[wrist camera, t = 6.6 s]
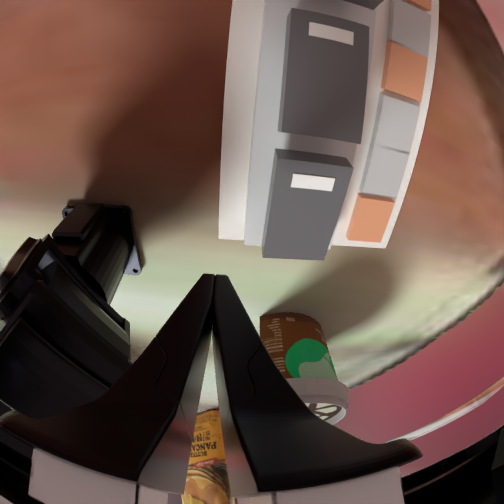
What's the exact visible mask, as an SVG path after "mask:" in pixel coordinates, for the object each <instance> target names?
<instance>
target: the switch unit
mask: <svg viewBox="0 0 504 504" xmlns="http://www.w3.org/2000/svg"><path fill="white" fill-rule="evenodd" d="M291 8H296V9H302V10H308V11H313V12H318V13H322V14H327V15H331V16H335V17H339V18H343V19H346V20H350V21H353V22H357V23H360V24H363V25H366V26H369V59H368V78H367V91H366V103H365V113H364V122H363V131H362V139H361V144H356V143H351V142H346V141H340V140H334V139H328V138H322V137H315V136H308V135H300V134H292V133H283V132H278V121H279V110H280V98H281V87H282V75H283V63H284V50H285V37H286V24H287V16H288V14H289V12H290V10H291ZM438 22H439V0H384V1H383V2H382V3H381V4H379V5H378V6H377V7H376V8H375V9H374V10H371V9H368V8H365V7H362V6H359V5H356V4H353V3H350V2H346V1H343V0H233V2H232V11H231V21H230V31H229V42H228V53H227V66H226V79H225V93H224V109H223V126H222V146H221V170H220V200H219V239H231V240H244V245H252V246H262V238H263V231H264V224H265V217H266V210H267V203H268V195H269V188H270V181H271V174H272V167H273V159H274V152H275V148H276V149H286V150H295V151H304V152H312V153H319V154H326V155H333V156H339V157H346V158H347V160H348V161H349V162H350V164H351V165H352V166H353V168H354V169H353V173H352V176H351V179H350V183H349V186H348V189H347V193H346V196H345V199H344V202H343V205H342V208H341V212H340V215H339V218H338V221H337V224H336V227H335V230H334V233H333V235H332V238H331V241H330V244H329V247H328V249H329V250H330V248H331V245H341V246H357V247H372V248H386V246H387V243H388V241H389V238H390V235H391V233H392V230H393V228H394V225H395V222H396V220H397V217H398V214H399V211H400V208H401V205H402V203H403V200H404V197H405V194H406V190H407V187H408V184H409V181H410V178H411V174H412V171H413V168H414V164H415V160H416V157H417V153H418V149H419V145H420V141H421V137H422V133H423V129H424V125H425V120H426V115H427V110H428V105H429V100H430V94H431V89H432V82H433V76H434V68H435V60H436V51H437V39H438Z"/></svg>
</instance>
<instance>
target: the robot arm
mask: <svg viewBox="0 0 504 504" xmlns="http://www.w3.org/2000/svg"><path fill="white" fill-rule="evenodd" d="M123 211H125V212H126V213H127V214H124V213H123ZM67 212H68V213H69V214H68V213H67ZM62 215H63V221H62V222H61V223H60V224H59V225H58V226H57V227H56V228H55V230H54V231H53V233H52V237H53V239H52V237H51V236H50V235H49V234H48V235H46V236H45V237H44V238H43V239H42V240H41V238H40V239H39V240H38V239H37V240H36V239H33V238H31V237H29V238H28V239H26V240H25V242H24V243H23V244H22V245H21V246H20V248H19V249H18V250H17V251H16V252H15V254H14V255H13V256H12V258H11V259H10V260H9V262H8V263H7V265H6V266H5V268H4V270H3V271H2V273H1V274H0V504H167V502H168V501H167V500H168V493H174V494H182V495H184V491H185V484H186V478H187V471H188V465H189V459H190V452H191V446H192V440H193V434H194V428H195V423H196V417H197V411H198V405H199V400H200V394H201V389H202V383H203V378H204V373H205V367H206V362H207V357H208V351H209V346H210V341H211V335H212V340H213V352H214V363H215V374H216V384H217V393H218V403H219V411H220V420H221V428H222V436H223V443H224V451H225V458H226V465H227V471H228V478H229V484H230V490H231V497H232V498H249V504H504V425H502V426H501V427H500V428H498V429H496V430H495V431H493V432H492V433H490V434H489V435H487V436H485V437H484V438H482V439H480V440H479V441H477V442H475V443H473V444H472V445H470V446H468V447H466V448H464V449H463V450H461V451H459V452H457V453H455V454H453V455H451V456H449V457H447V458H445V459H443V460H441V461H438V462H436V463H434V464H432V465H430V466H428V467H426V468H423V469H421V470H419V471H417V472H414V473H412V474H409V475H407V476H404V477H402V478H401V474H400V470H399V467H400V466H402V465H405V464H407V463H410V462H412V461H414V460H416V459H419V458H421V457H422V456H423V454H422V452H421V451H420V450H419V448H418V447H416V446H415V445H414V444H413V443H411V442H410V441H408V440H407V439H398V440H394V441H391V442H388V443H383V444H373V443H368V442H365V441H363V440H360V439H358V438H356V437H354V436H352V435H350V434H349V433H347V432H345V431H343V430H341V429H339V428H337V427H335V426H333V425H332V424H330V423H328V422H326V421H324V420H323V419H321V418H319V417H318V416H317V415H315V414H314V413H313V412H312V411H311V410H310V409H309V408H308V407H307V405H306V404H305V403H304V402H303V401H302V399H301V398H300V397H299V395H298V394H297V393H296V392H295V390H294V389H293V388H292V386H291V385H290V384H289V383H288V381H287V380H286V379H285V377H284V376H283V374H282V373H281V372H280V370H279V369H278V367H277V366H276V364H275V363H274V361H273V359H272V358H271V356H270V354H269V353H268V351H267V349H266V347H265V346H264V345H263V342H262V340H261V338H260V336H259V335H258V333H257V331H256V329H255V327H254V325H253V323H252V321H251V320H250V318H249V316H248V314H247V312H246V310H245V308H244V306H243V304H242V303H241V301H240V299H239V297H238V295H237V293H236V291H235V289H234V287H233V285H232V283H231V281H230V279H229V277H228V276H227V275H219V274H217V275H216V276H215V275H214V274H203V275H202V276H201V277H200V279H199V280H198V281H197V282H196V284H195V285H194V286H193V288H192V289H191V290H190V291H189V293H188V294H187V295H186V297H185V298H184V299H183V301H182V302H181V303H180V304H179V306H178V307H177V308H176V310H175V311H174V312H173V314H172V315H171V316H170V318H169V319H168V320H167V322H166V323H165V324H164V326H163V327H162V328H161V330H160V331H159V332H158V333H157V335H156V337H155V338H154V339H153V340H152V341H151V343H150V344H149V345H148V347H147V348H146V349H145V350H144V352H143V353H142V354H141V355H140V357H139V358H138V359H137V360H136V361H135V362H134V363H133V364H132V362H131V357H130V323H129V322H128V321H127V320H126V319H125V318H122V317H121V316H120V315H119V314H118V313H117V312H116V311H115V310H114V309H113V308H112V307H111V306H110V304H111V302H112V299H113V297H114V295H115V292H116V290H117V288H118V285H119V283H120V281H121V279H122V276H123V274H128V275H139V274H140V273H141V271H142V266H141V262H140V257H139V252H138V247H137V241H136V236H135V230H134V224H133V218H132V212H131V209H130V208H129V207H128V206H105V205H103V204H78V205H76V206H67V207H65V208H64V209H63V210H62ZM134 268H135V269H134ZM136 269H137V270H136Z"/></svg>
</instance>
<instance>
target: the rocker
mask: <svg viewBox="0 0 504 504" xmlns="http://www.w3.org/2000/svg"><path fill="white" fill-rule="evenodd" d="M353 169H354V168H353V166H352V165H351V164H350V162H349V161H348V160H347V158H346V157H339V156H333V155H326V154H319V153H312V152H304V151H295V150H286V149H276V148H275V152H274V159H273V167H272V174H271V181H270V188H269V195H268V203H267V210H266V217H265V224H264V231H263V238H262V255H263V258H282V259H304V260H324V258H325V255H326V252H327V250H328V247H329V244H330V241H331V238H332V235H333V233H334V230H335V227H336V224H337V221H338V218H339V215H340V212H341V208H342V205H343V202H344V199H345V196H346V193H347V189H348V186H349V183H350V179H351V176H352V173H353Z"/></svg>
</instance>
